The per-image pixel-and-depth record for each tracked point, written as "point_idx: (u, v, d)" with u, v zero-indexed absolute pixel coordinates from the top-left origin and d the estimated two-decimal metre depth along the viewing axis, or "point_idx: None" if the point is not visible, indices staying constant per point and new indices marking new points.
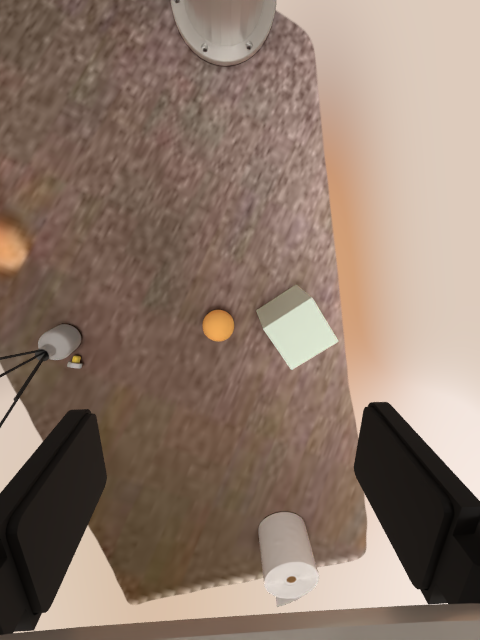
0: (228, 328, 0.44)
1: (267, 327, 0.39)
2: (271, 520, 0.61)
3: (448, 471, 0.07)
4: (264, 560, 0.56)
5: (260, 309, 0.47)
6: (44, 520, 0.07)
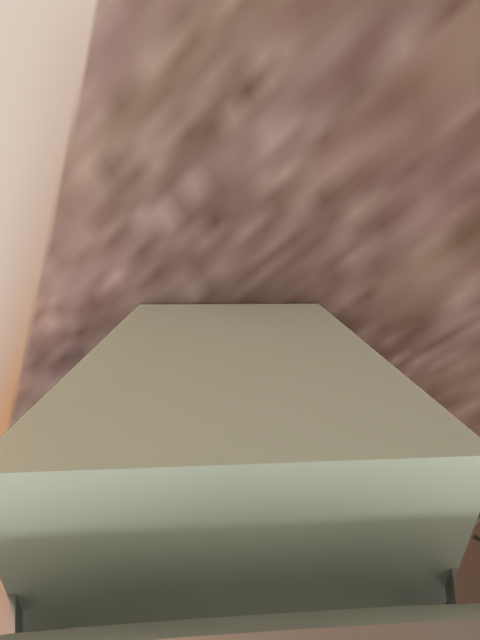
0: None
1: None
2: None
3: None
4: None
5: None
6: None
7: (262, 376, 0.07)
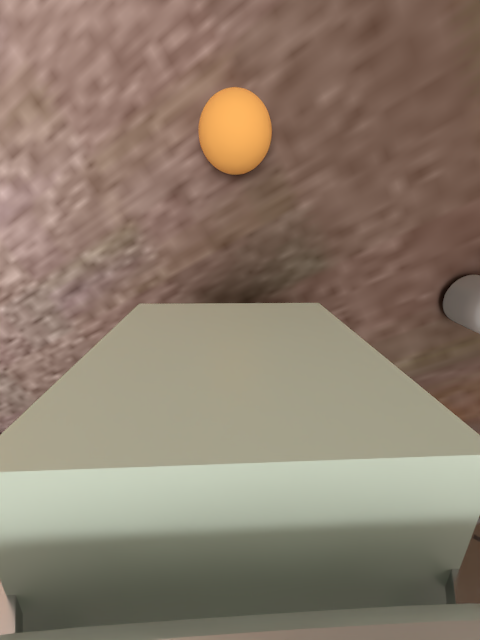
0: (213, 110, 0.18)
1: None
2: None
3: None
4: None
5: None
6: None
7: (262, 375, 0.07)
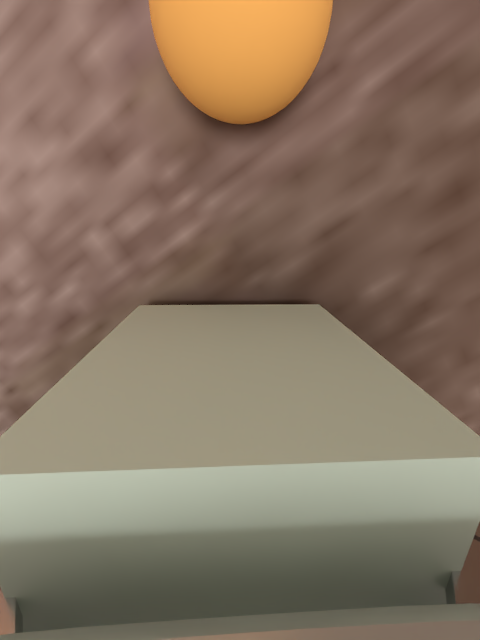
0: (191, 95, 0.08)
1: None
2: None
3: None
4: None
5: None
6: None
7: (262, 377, 0.06)
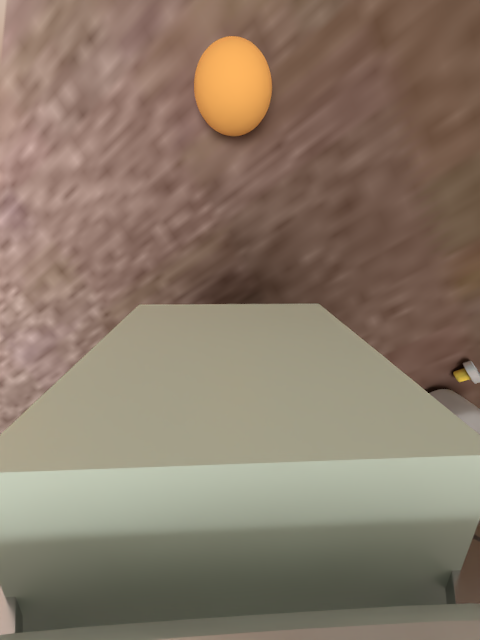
0: (209, 92, 0.17)
1: None
2: None
3: None
4: None
5: None
6: None
7: (262, 375, 0.06)
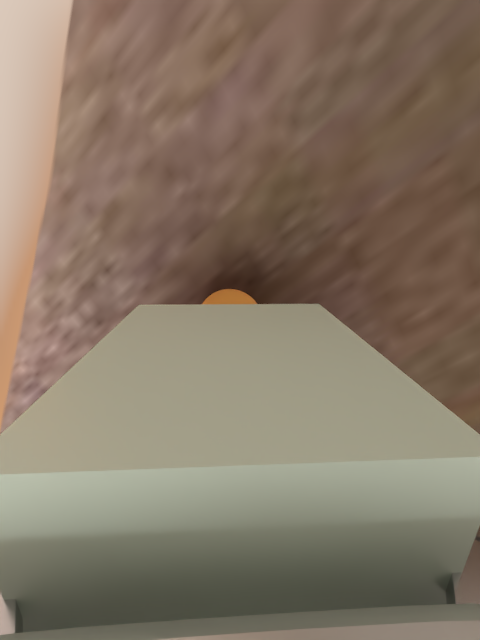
0: None
1: None
2: None
3: None
4: None
5: None
6: None
7: (262, 376, 0.06)
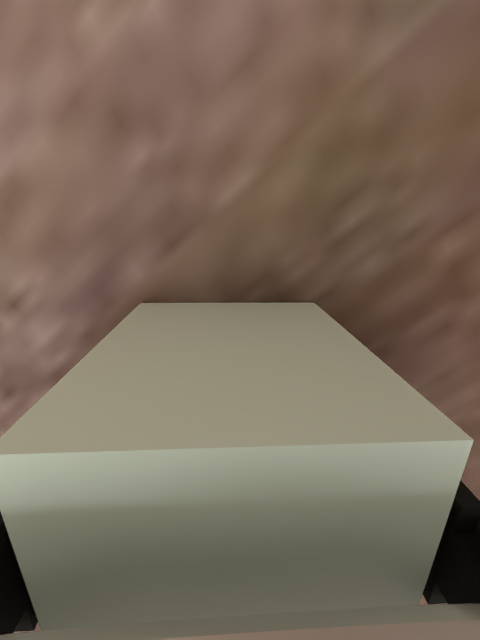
0: None
1: None
2: None
3: None
4: None
5: None
6: None
7: (257, 370, 0.07)
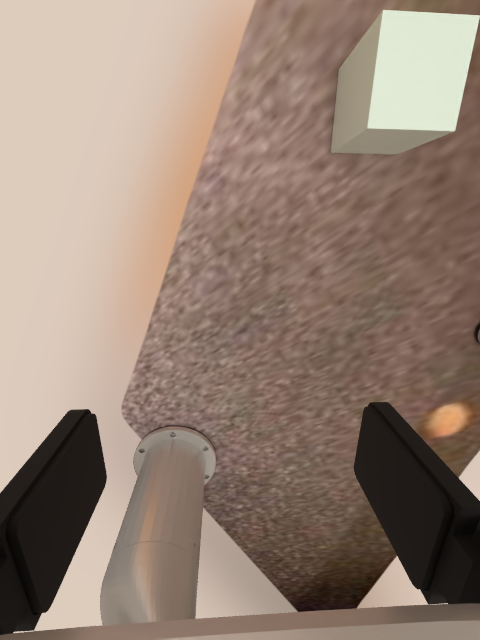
0: None
1: (448, 128, 0.25)
2: None
3: (448, 471, 0.07)
4: None
5: (395, 152, 0.32)
6: (44, 520, 0.07)
7: None
